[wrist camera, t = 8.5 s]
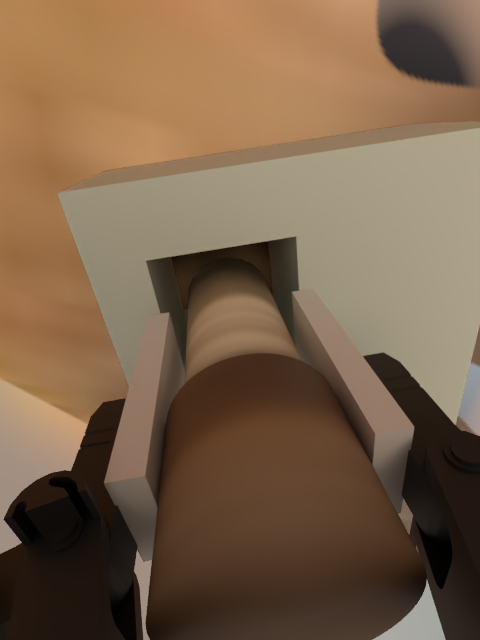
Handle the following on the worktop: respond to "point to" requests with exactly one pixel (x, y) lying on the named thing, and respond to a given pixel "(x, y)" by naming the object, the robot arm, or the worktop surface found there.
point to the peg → (268, 490)
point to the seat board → (306, 239)
